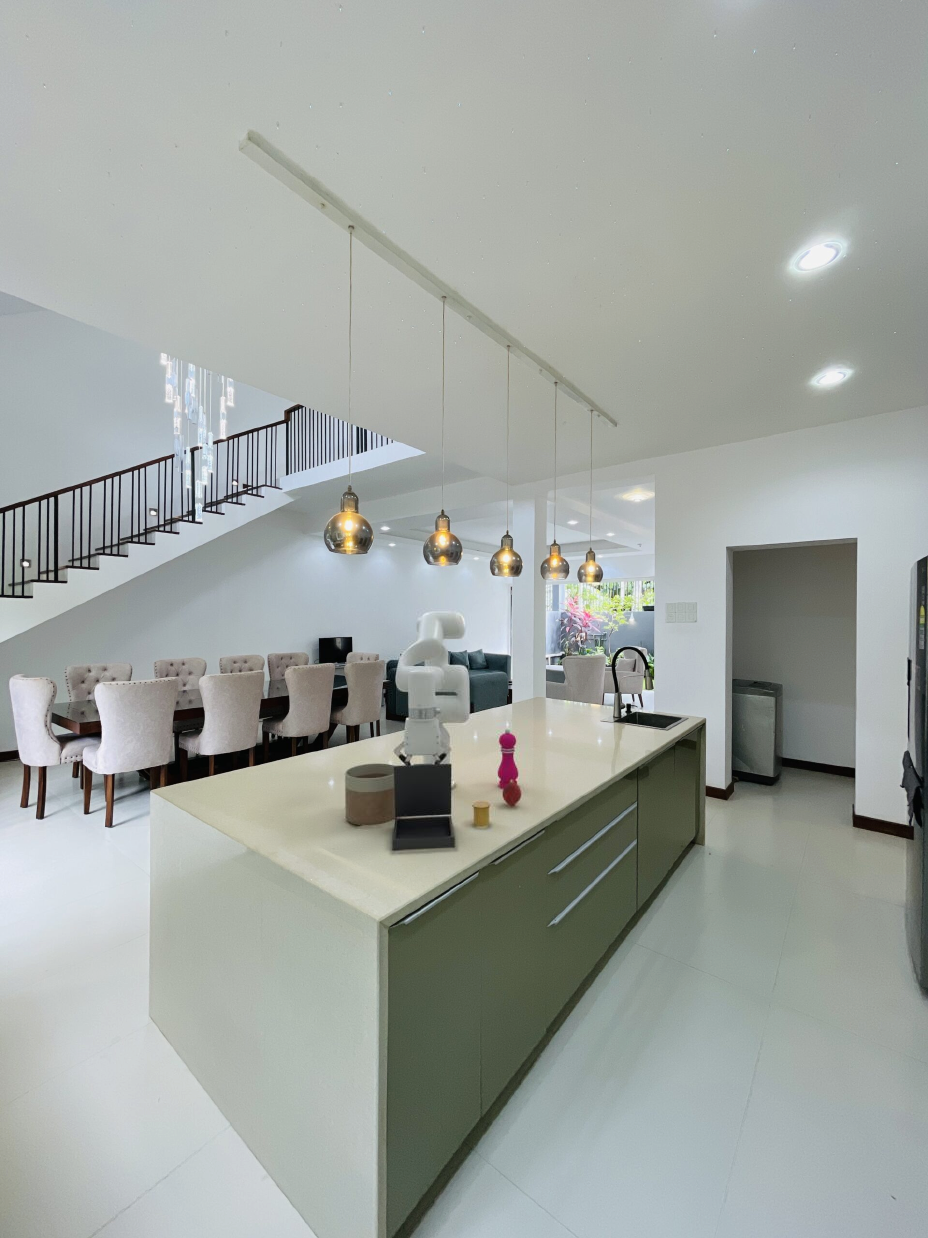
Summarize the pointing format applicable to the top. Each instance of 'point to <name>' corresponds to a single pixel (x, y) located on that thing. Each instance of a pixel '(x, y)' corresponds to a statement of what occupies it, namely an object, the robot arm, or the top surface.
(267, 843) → the top surface
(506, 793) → the onion
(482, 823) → the coffee pod
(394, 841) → the dark grey lidded tray
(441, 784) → the lid
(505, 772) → the pepper mill
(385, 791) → the planter
